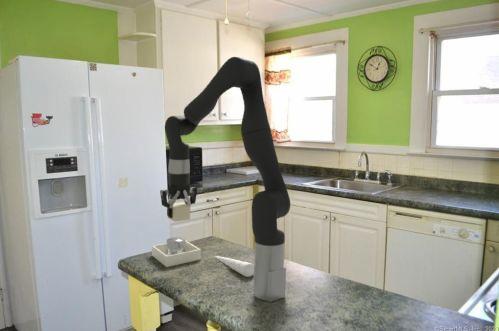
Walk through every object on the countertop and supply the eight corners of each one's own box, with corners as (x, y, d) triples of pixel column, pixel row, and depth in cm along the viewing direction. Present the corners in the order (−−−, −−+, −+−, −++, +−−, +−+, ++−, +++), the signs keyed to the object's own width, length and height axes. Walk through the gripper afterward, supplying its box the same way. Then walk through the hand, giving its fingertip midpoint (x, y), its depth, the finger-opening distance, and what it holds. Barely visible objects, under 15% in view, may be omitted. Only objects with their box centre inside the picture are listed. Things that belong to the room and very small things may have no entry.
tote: (200, 260, 149) (200, 249, 149) (166, 268, 141) (166, 256, 141) (184, 250, 161) (184, 239, 160) (152, 257, 153) (151, 245, 152)
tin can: (188, 258, 150) (188, 240, 149) (171, 262, 146) (171, 243, 145) (180, 253, 156) (180, 236, 155) (164, 256, 152) (163, 239, 151)
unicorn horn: (221, 255, 156) (221, 243, 155) (255, 276, 137) (255, 263, 136) (210, 257, 153) (210, 246, 153) (244, 279, 134) (244, 265, 133)
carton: (189, 219, 142) (190, 205, 142) (174, 221, 139) (175, 207, 138) (182, 215, 147) (182, 202, 146) (167, 217, 144) (167, 204, 143)
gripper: (164, 174, 133) (164, 221, 136) (201, 171, 142) (201, 216, 144) (156, 171, 139) (156, 216, 142) (192, 168, 148) (191, 211, 150)
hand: (178, 216), depth 143 cm, fingers closed on carton, 6 cm apart
